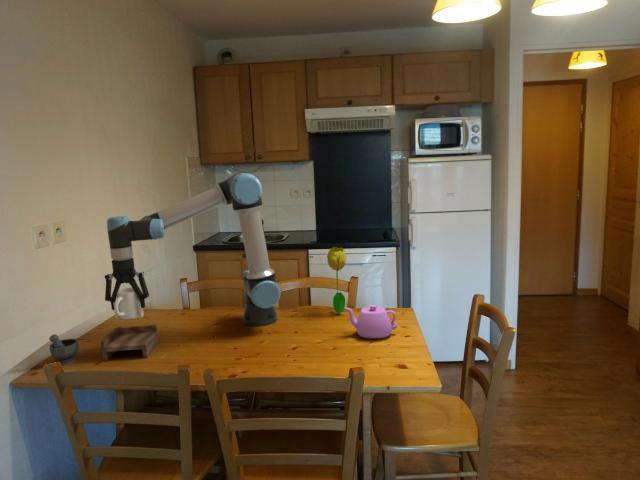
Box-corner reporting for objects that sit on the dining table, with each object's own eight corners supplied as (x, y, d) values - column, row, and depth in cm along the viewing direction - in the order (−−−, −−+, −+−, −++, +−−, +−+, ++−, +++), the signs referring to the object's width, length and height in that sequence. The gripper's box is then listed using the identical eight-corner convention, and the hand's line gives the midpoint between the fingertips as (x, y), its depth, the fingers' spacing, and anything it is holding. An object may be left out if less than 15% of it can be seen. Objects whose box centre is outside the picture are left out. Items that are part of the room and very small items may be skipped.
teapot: (396, 328, 192) (395, 299, 190) (398, 340, 179) (397, 310, 177) (346, 329, 194) (344, 301, 193) (344, 341, 181) (343, 311, 179)
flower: (329, 312, 217) (325, 247, 212) (347, 311, 218) (343, 245, 213) (331, 318, 208) (327, 250, 204) (350, 317, 209) (346, 249, 204)
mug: (125, 323, 175) (122, 296, 173) (107, 322, 177) (103, 295, 176) (147, 313, 186) (144, 287, 184) (130, 312, 189) (127, 286, 187)
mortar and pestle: (62, 356, 184) (58, 326, 182) (86, 355, 183) (81, 325, 181) (43, 368, 173) (38, 336, 171) (68, 368, 172) (63, 336, 170)
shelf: (158, 342, 192) (156, 324, 191) (147, 357, 177) (144, 338, 176) (118, 345, 191) (115, 327, 190) (103, 361, 177) (100, 341, 175)
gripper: (154, 254, 182) (160, 312, 186) (97, 258, 181) (105, 316, 185) (148, 258, 175) (155, 318, 178) (89, 262, 174) (97, 322, 178)
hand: (129, 317), depth 182 cm, fingers closed on mug, 8 cm apart
